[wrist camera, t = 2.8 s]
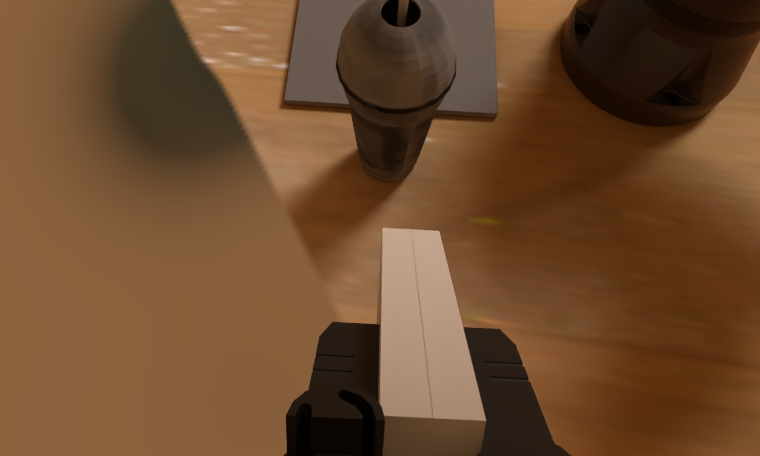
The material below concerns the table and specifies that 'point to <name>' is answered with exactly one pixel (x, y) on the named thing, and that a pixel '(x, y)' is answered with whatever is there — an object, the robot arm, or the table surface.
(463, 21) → the rubber mat
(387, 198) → the table surface
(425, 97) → the beverage cup
